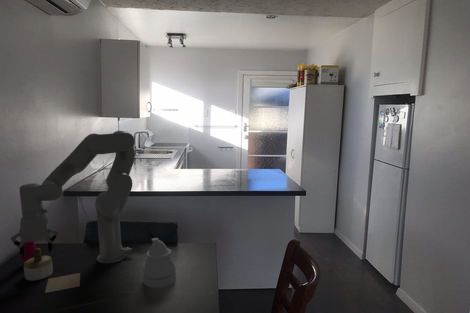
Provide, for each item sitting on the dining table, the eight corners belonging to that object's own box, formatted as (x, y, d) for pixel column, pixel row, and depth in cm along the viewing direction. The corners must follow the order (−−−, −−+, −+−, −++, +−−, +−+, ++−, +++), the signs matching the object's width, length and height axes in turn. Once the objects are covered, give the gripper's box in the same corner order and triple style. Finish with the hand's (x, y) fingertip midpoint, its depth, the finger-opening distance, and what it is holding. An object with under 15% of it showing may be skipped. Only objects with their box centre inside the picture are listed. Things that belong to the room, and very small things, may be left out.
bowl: (53, 268, 152) (52, 256, 152) (51, 278, 143) (50, 265, 142) (27, 272, 148) (26, 260, 148) (23, 283, 139) (22, 270, 139)
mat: (80, 274, 146) (80, 272, 146) (79, 287, 135) (79, 286, 135) (48, 280, 142) (48, 278, 142) (45, 294, 131) (44, 292, 131)
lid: (52, 256, 151) (51, 243, 151) (50, 265, 142) (49, 251, 141) (26, 260, 148) (24, 247, 147) (22, 270, 139) (20, 256, 138)
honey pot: (165, 290, 132) (163, 245, 130) (137, 284, 137) (134, 241, 134) (181, 275, 144) (180, 233, 142) (155, 270, 149) (153, 230, 146)
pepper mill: (31, 268, 153) (26, 225, 150) (17, 267, 154) (12, 224, 151) (43, 261, 160) (39, 219, 157) (30, 260, 161) (25, 218, 158)
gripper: (57, 208, 149) (60, 246, 151) (10, 214, 142) (14, 253, 145) (55, 213, 142) (59, 253, 144) (6, 219, 135) (11, 261, 138)
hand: (37, 253), depth 144 cm, fingers open, 9 cm apart
